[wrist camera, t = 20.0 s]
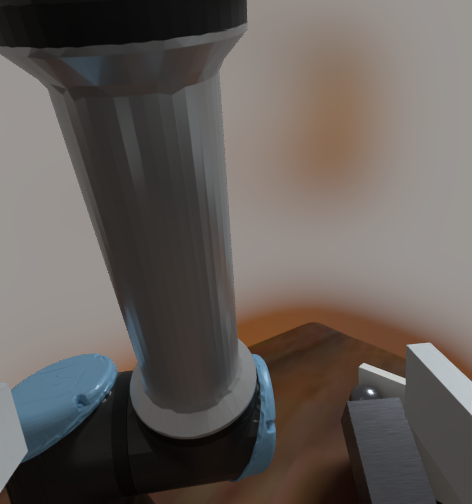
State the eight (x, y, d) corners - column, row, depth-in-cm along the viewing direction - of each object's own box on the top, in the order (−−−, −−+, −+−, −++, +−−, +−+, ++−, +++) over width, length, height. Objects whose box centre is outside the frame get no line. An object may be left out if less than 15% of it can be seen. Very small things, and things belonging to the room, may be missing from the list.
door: (510, 520, 41) (523, 413, 38) (503, 539, 40) (516, 428, 36) (370, 444, 54) (369, 357, 50) (359, 455, 52) (358, 366, 48)
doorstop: (375, 573, 31) (329, 371, 44) (359, 580, 38) (323, 402, 50) (484, 566, 31) (406, 365, 44) (449, 575, 37) (390, 397, 50)
